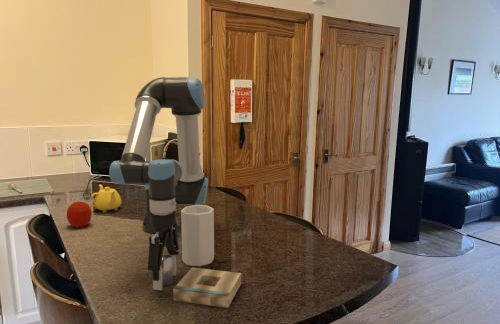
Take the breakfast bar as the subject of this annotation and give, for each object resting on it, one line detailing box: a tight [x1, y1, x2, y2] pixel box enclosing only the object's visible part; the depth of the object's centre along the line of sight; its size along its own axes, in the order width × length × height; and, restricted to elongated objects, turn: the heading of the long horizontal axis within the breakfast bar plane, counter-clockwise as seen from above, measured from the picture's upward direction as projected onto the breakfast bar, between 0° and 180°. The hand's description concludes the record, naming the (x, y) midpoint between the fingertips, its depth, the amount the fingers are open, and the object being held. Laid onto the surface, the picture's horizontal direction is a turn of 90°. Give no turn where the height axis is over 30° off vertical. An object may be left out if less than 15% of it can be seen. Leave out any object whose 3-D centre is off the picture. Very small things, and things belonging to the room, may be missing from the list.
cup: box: [180, 204, 215, 267], centre depth 133 cm, size 11×11×18 cm
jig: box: [172, 266, 242, 309], centre depth 113 cm, size 16×14×4 cm
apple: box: [66, 200, 93, 229], centre depth 167 cm, size 10×10×12 cm
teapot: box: [90, 184, 123, 214], centre depth 191 cm, size 20×15×12 cm
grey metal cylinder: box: [160, 254, 174, 287], centre depth 118 cm, size 5×5×8 cm
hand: (165, 281), depth 118 cm, fingers open, 9 cm apart
